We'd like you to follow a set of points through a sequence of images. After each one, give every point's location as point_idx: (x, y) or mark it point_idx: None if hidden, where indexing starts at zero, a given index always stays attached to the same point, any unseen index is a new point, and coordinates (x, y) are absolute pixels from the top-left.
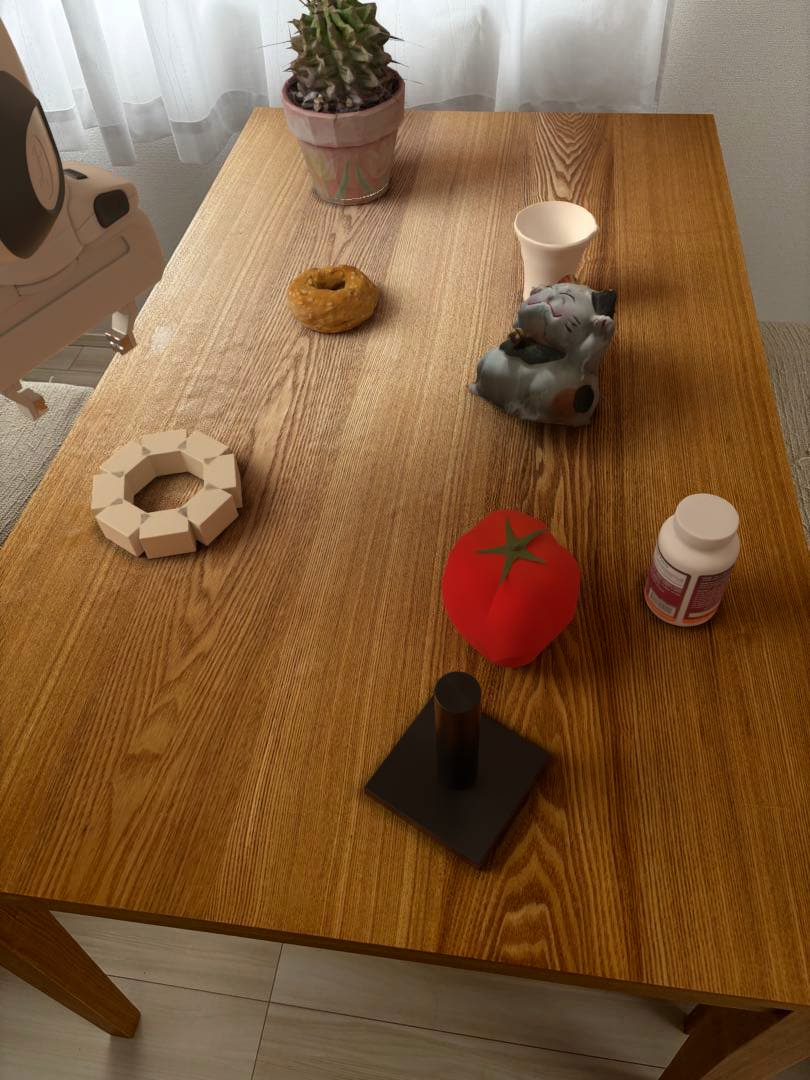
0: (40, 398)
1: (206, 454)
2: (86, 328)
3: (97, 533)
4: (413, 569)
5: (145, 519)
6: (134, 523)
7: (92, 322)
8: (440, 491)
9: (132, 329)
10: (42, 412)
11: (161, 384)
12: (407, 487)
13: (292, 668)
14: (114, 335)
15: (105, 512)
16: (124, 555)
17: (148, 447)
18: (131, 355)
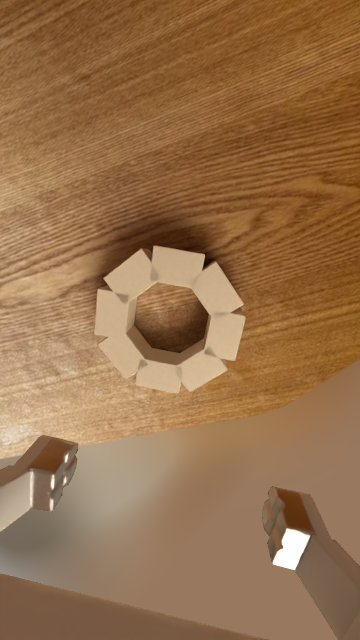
0: (292, 526)
1: (117, 304)
2: (92, 623)
3: None
4: (141, 3)
5: (219, 312)
6: (228, 320)
7: (55, 625)
8: (29, 39)
9: (9, 467)
10: (292, 495)
11: (58, 404)
12: (44, 85)
13: (312, 69)
14: (47, 491)
15: (226, 355)
16: None
17: (136, 364)
18: None
